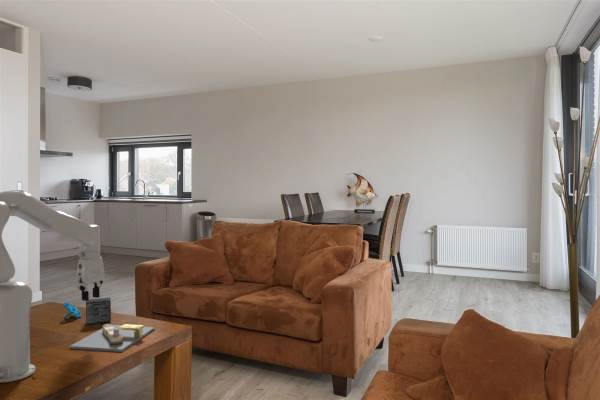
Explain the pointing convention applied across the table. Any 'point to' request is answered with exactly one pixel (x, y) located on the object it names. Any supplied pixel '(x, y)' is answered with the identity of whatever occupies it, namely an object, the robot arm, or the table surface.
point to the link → (112, 334)
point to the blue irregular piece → (72, 310)
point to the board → (103, 343)
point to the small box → (98, 311)
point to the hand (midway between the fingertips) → (90, 298)
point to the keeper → (137, 329)
